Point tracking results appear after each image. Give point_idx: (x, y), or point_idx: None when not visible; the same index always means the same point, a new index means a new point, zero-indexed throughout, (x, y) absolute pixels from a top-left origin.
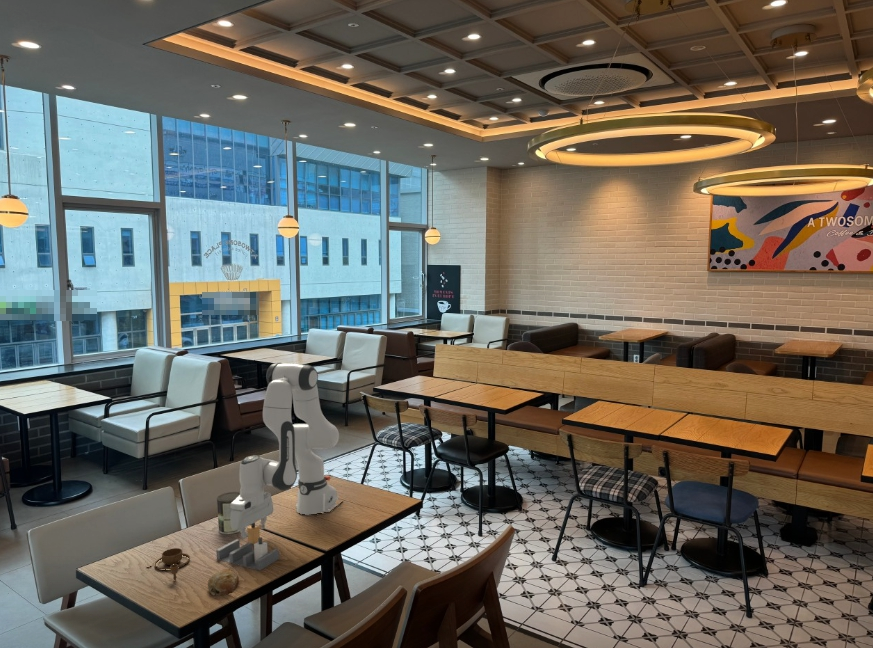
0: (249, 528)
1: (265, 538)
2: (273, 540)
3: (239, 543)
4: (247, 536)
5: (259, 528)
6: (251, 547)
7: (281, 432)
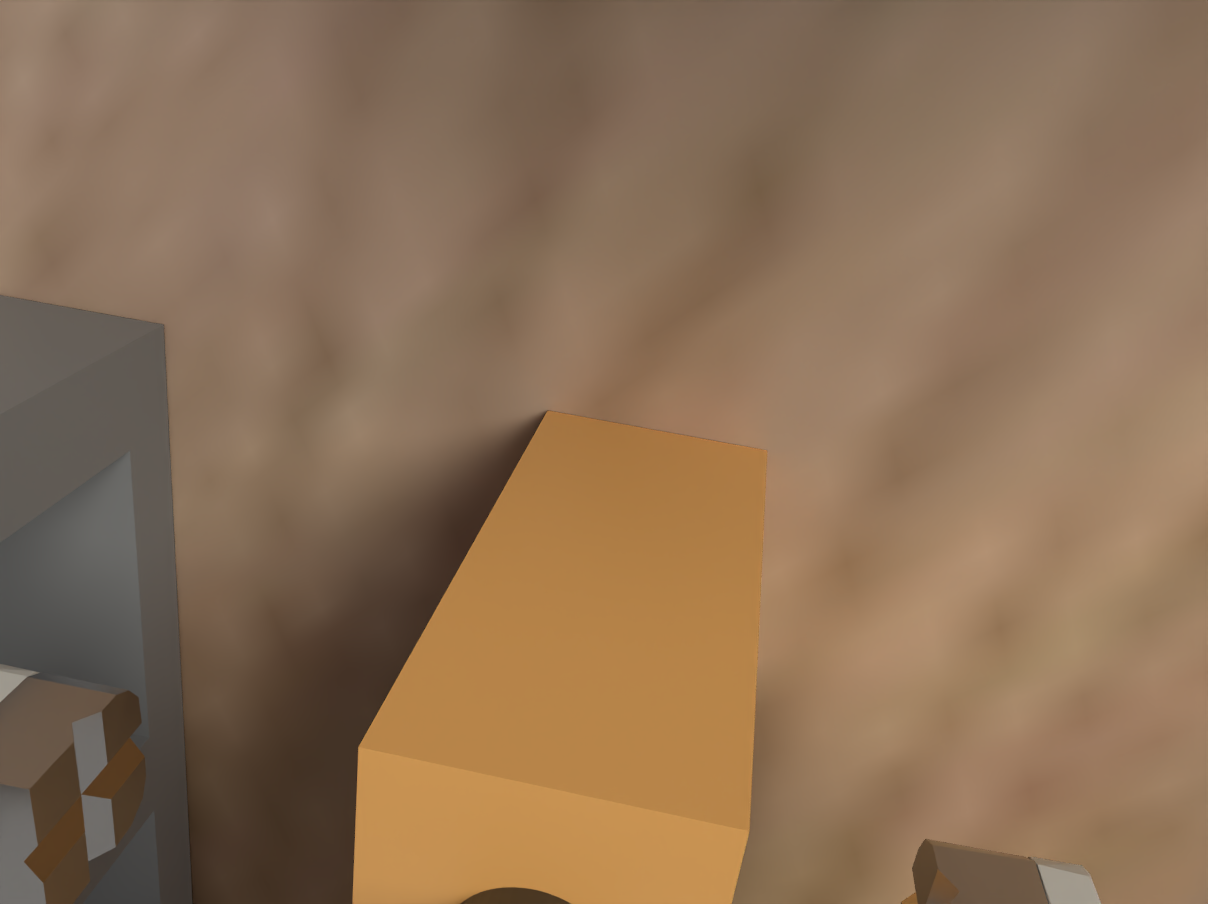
0: (356, 858)
1: (1052, 652)
2: None
3: (27, 521)
4: (116, 818)
5: (926, 852)
6: None
7: None
